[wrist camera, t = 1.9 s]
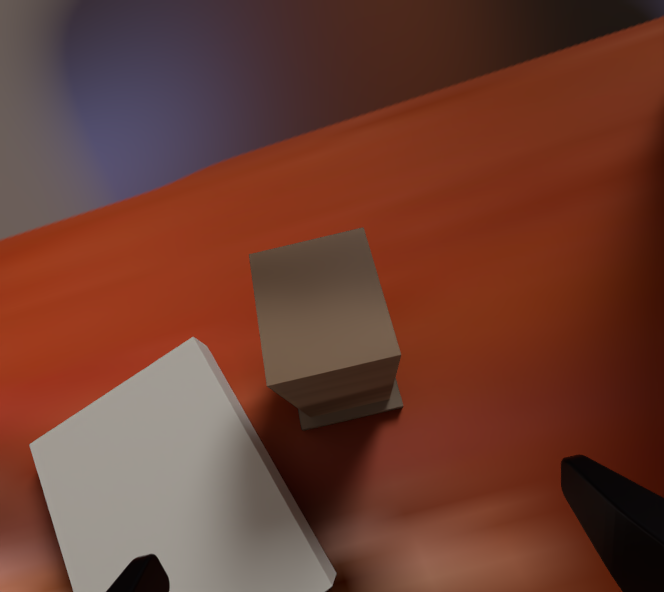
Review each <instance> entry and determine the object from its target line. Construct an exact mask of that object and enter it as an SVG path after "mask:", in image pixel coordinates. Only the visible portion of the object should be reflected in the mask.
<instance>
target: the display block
mask: <svg viewBox="0 0 664 592" xmlns="http://www.w3.org/2000/svg"><path fill="white" fill-rule="evenodd" d="M29 445H30V449H31V452H32V455H33V459H34V462H35V465H36V469H37V472H38V475H39V479H40V482H41V485H42V489H43V492H44V495H45V499H46V502H47V505H48V509H49V512H50V515H51V519H52V522H53V525H54V529H55V532H56V535H57V539H58V542H59V545H60V549H61V552H62V555H63V559H64V562H65V565H66V569H67V572H68V575H69V579H70V582H71V585H72V589H73V592H106V591H107V590H108V588H109V587H110V586H111V585H112V584H113V582H114V581H115V580H116V579H117V578H118V576H119V575H120V574H121V573H122V572H123V570H124V569H125V568H126V567H127V566H128V564H129V563H130V562H131V561H132V560H133V559H134V558H136V557H139V556H143V555H147V554H155V555H156V556H157V557H158V559H159V561H160V563H161V564H162V566H163V568H164V570H165V571H166V573H167V575H168V577H169V582H170V590H169V592H325V591H327V590H328V589H329V588H330V587H331V586H332V585H333V582H334V579H335V576H336V572H335V570H334V568H333V566H332V565H331V563H330V561H329V559H328V558H327V556H326V554H325V552H324V551H323V549H322V547H321V545H320V544H319V542H318V540H317V538H316V536H315V535H314V533H313V531H312V529H311V528H310V526H309V524H308V522H307V521H306V519H305V517H304V515H303V514H302V512H301V510H300V508H299V507H298V505H297V503H296V501H295V500H294V498H293V496H292V494H291V493H290V491H289V489H288V487H287V486H286V484H285V482H284V480H283V479H282V477H281V475H280V473H279V472H278V470H277V468H276V466H275V465H274V463H273V461H272V459H271V458H270V456H269V454H268V452H267V451H266V449H265V447H264V445H263V443H262V442H261V440H260V438H259V436H258V435H257V433H256V431H255V429H254V428H253V426H252V424H251V422H250V421H249V419H248V417H247V415H246V414H245V412H244V410H243V408H242V407H241V405H240V403H239V401H238V400H237V398H236V396H235V394H234V393H233V391H232V389H231V387H230V386H229V384H228V382H227V380H226V379H225V377H224V375H223V373H222V372H221V370H220V368H219V366H218V365H217V363H216V361H215V359H214V357H213V356H212V354H211V352H210V350H209V349H208V347H207V346H206V345H204V344H203V343H202V342H200V341H199V340H197V339H196V338H194V337H192V338H190V339H189V340H187V341H186V342H184V343H183V344H181V345H180V346H178V347H177V348H175V349H174V350H172V351H171V352H169V353H168V354H166V355H165V356H163V357H162V358H160V359H158V360H157V361H155V362H154V363H152V364H151V365H149V366H148V367H146V368H145V369H143V370H142V371H140V372H139V373H137V374H136V375H134V376H133V377H131V378H130V379H128V380H127V381H125V382H124V383H122V384H120V385H119V386H117V387H116V388H114V389H113V390H111V391H110V392H108V393H107V394H105V395H104V396H102V397H101V398H99V399H98V400H96V401H95V402H93V403H92V404H90V405H89V406H87V407H85V408H84V409H82V410H81V411H79V412H78V413H76V414H75V415H73V416H72V417H70V418H69V419H67V420H66V421H64V422H63V423H61V424H60V425H58V426H57V427H55V428H54V429H52V430H50V431H49V432H47V433H46V434H44V435H43V436H41V437H40V438H38V439H37V440H35V441H34V442H32V443H31V444H29Z"/></svg>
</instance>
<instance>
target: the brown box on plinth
mask: <svg viewBox="0 0 664 592" xmlns="http://www.w3.org/2000/svg"><path fill="white" fill-rule="evenodd" d="M249 258H250V266H251V273H252V280H253V288H254V295H255V302H256V310H257V317H258V324H259V332H260V339H261V346H262V354H263V361H264V368H265V376H266V383H267V387H269V388H270V389H272V390H273V391H274V392H276V393H277V394H279V395H280V396H281V397H283V398H284V399H286V400H287V401H288V402H290V403H291V404H293V405H294V406H295V407H297V408H298V412H299V418H300V424H301V429H302V430H303V431H305V430H309V429H314V428H318V427H322V426H327V425H331V424H335V423H339V422H344V421H348V420H352V419H357V418H361V417H365V416H369V415H374V414H378V413H382V412H387V411H391V410H395V409H400V408H403V403H402V399H401V396H400V392H399V389H398V385H397V381H396V378H395V377H396V373H397V369H398V365H399V361H400V357H401V353H400V349H399V346H398V342H397V339H396V336H395V332H394V329H393V326H392V322H391V319H390V315H389V312H388V309H387V305H386V302H385V299H384V295H383V292H382V288H381V285H380V282H379V278H378V275H377V272H376V268H375V265H374V261H373V258H372V255H371V251H370V248H369V245H368V241H367V238H366V234H365V231H364V228H359V229H355V230H351V231H346V232H342V233H338V234H334V235H329V236H325V237H321V238H317V239H312V240H308V241H304V242H300V243H296V244H291V245H287V246H283V247H279V248H274V249H270V250H266V251H262V252H258V253H253V254H249Z"/></svg>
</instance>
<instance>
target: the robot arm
mask: <svg viewBox="0 0 664 592" xmlns="http://www.w3.org/2000/svg"><path fill="white" fill-rule="evenodd" d="M561 487H562V491H563V494H564V496H565V498H566V500H567V502H568V503H569V505H570V507H571V508H572V510H573V512H574V513H575V515H576V517H577V518H578V520H579V522H580V524H581V525H582V527H583V529H584V530H585V532H586V534H587V535H588V537H589V539H590V540H591V542H592V544H593V546H594V547H595V549H596V551H597V552H598V554H599V556H600V557H601V559H602V561H603V562H604V564H605V566H606V567H607V569H608V570H609V572H610V574H611V575H612V577H613V578H614V580H615V581H616V583H617V584H618V586H619V587H620V588H621V590H622V591H623V592H664V498H663V497H661V496H659V495H657V494H655V493H653V492H652V491H650V490H648V489H646V488H644V487H642V486H640V485H639V484H637V483H635V482H633V481H631V480H629V479H627V478H625V477H624V476H622V475H620V474H618V473H616V472H614V471H612V470H610V469H609V468H607V467H605V466H603V465H601V464H599V463H597V462H596V461H594V460H592V459H590V458H588V457H586V456H583V455H575V456H570V457H566V458H563V460H562V461H561ZM169 590H170V582H169V577H168V575H167V573H166V571H165V570H164V568H163V566H162V564H161V563H160V561H159V559H158V557H157V556H156V555H155V554H147V555H143V556H139V557H136V558H134V559H133V560H132V561H131V562H130V563H129V564H128V566H127V567H126V568H125V569H124V570H123V572H122V573H121V574H120V575H119V576H118V578H117V579H116V580H115V581H114V582H113V584H112V585H111V586H110V587H109V588H108V590H107V591H106V592H169Z"/></svg>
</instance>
